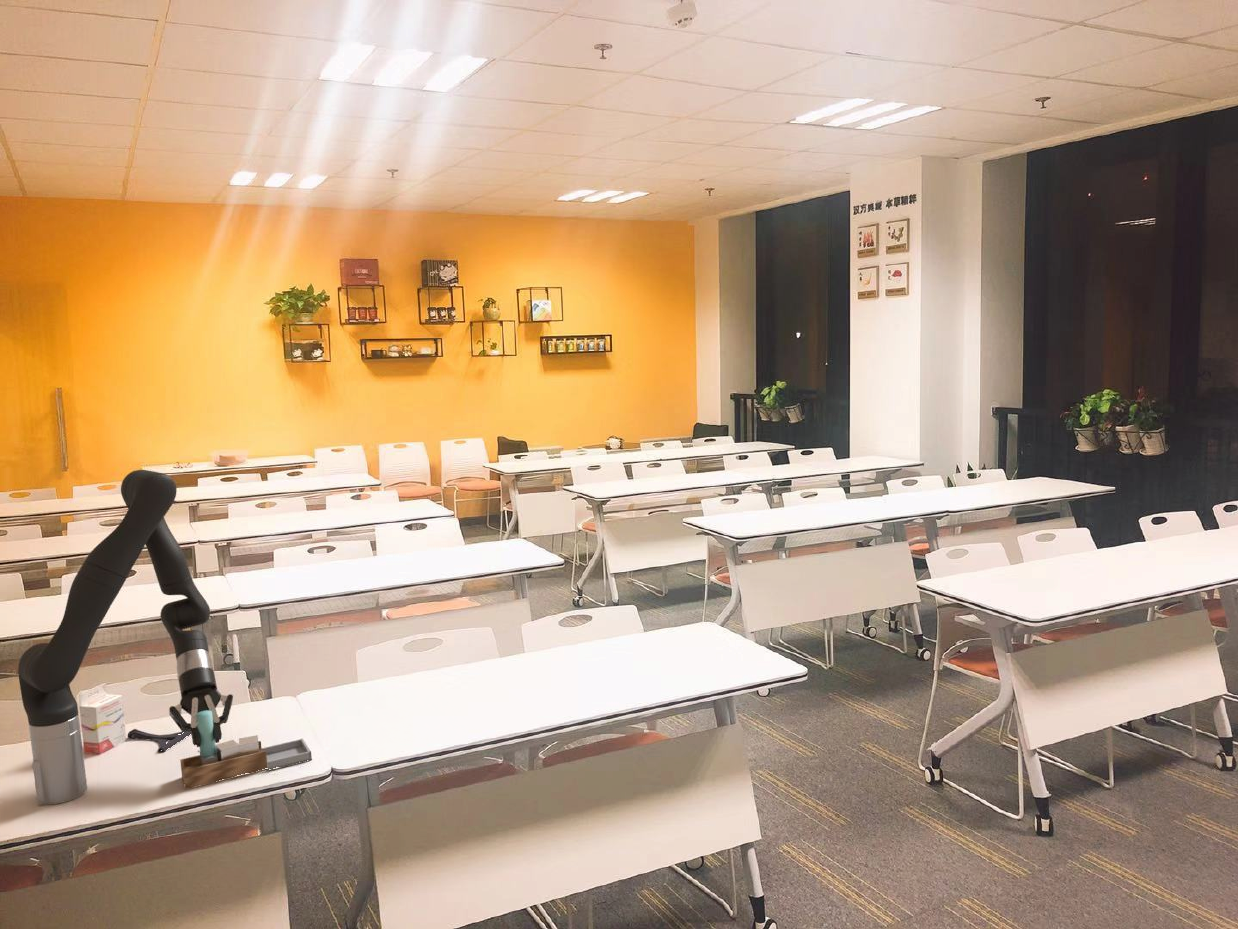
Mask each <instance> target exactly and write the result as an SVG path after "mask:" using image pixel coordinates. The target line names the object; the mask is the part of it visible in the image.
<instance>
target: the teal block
mask: <svg viewBox="0 0 1238 929" xmlns="http://www.w3.org/2000/svg"><path fill="white" fill-rule="evenodd" d="M196 717H197V726H198V730H199V736H200V742H201V747H199V755H200V760H201V765H202V766H203V765H207V764H211V763H215V762H218V759H217V755H216V746H215V745H216V743H215V737H214V727H213V716H212V711H210V710H206V711H201V712H199V713H197V714H196Z"/></svg>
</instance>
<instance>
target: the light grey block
mask: <svg viewBox="0 0 1238 929" xmlns="http://www.w3.org/2000/svg"><path fill="white" fill-rule="evenodd" d="M215 746H216V755H217V759H218V762H220V761H224V760H228V759H232V758H237V757H240V749H239V742H237V741H235V740H234V739H230V740H228V741H224V742H221V743H220V742H219V743H216V744H215Z"/></svg>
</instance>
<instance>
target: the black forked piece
mask: <svg viewBox="0 0 1238 929" xmlns="http://www.w3.org/2000/svg"><path fill="white" fill-rule="evenodd" d="M197 728H198V726H197ZM182 733H183V732H182V731H179V732H175V733H174V732H172V733H169V734H154V733H148V732H145V731H142V730H139V729H137V728H134V729H132V730H130V731H128V733H127V739H128V740H146V739H150V740H151V741H153V742H156V743H157V744H158V745H159V744H160V745H159V747H158V750H157V751H158V752H157V753H161V752H162V753H166V752H167V751H168V750H169V749H168V748H170V749H171V747H172V746H173V745H175V744H176V743H177V742H179V743H181V742H182V741H184V740H185V739H186V738H185V737H186V736H188V737H190V736H191V735H190V734H191V732H189V731H186V732H184V733H183V734H182ZM178 734H181V735H178ZM189 735H190V736H189ZM184 738H185V739H184ZM183 739H184V740H183ZM168 740H169V741H168ZM171 740H172V741H171ZM181 740H182V741H181ZM167 741H168V743H167V744H166V742H167ZM180 741H181V742H180ZM176 745H177V744H176ZM176 745H175V746H176ZM173 747H174V746H173ZM173 747H172V748H173ZM167 749H168V750H167ZM161 750H162V751H161ZM166 750H167V751H166Z"/></svg>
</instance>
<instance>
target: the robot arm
mask: <svg viewBox="0 0 1238 929" xmlns="http://www.w3.org/2000/svg"><path fill="white" fill-rule="evenodd" d="M177 491H178V490H177V484H176V482H175V480H174V478H173V477H171V476H170V475H168V474H166V473H162V472H159V471H154V470H147V469H137V470H133V471H130V472H129V473H128V474H127V475H126V476H125V477H124V478H123V479H122V482H121V486H120V493H121V494H120V495H121V497H122V499H123V502H124V504H125V505H126V507H127V511H126V513H125V515H124V517H123V518H122V520H121V522H120V523H119V524H118V526H116V528H114V530H112V531H111V533H109V534H108V535H107V536H106V537H105V538H104V539H103V540H101V541H100V542H99V543H98V544H97V545H96V546H95V547H94V548H93V549H92V550H91V551H90V552H89V554H88V555H87V557H86V558H85V559H84V562H83V563H82V565H81V566H80V568H79V569H78V571H77V574H75V577H74V578H73V581H72V584H71V585H70V588H69V592H68V596H67V600H66V605H65V610H64V613H63V617H62V619H61V622H60V624H59V626H58V627H57V629H56V631H55V632H54V634H53V636H52V638H51V639H50V641H49V642H40V643H37V644H35V645H32V646H31V647H29V648H28V649H26V650H25V651H24V653H23V654H22V655H21V657H20V659H19V662H18V666H17V668H18V669H17V673H18V680H19V681H18V682H19V688H20V694H21V700H22V704H23V709H24V711H25V713H26V716H27V720H28V729H29V738H30V745H31V753H32V769H33V778H34V785H35V794H36V801H37V806H42V805H55V804H57V805H58V804H61V803H66V802H69V801H73V800H75V799H77V798H79V797H81V796H82V795H83V794H85V793H86V792H87V791H88V783H87V782H88V781H87V780H88V779H87V774H86V767H85V765H86V764H85V757H84V747H83V739H82V730H81V722H80V717H79V715H80V714H79V707H78V701H76V698H75V697H74V695H73V692H72V690H71V687H70V684H71V683H72V681H73V680H74V679H75V678H76V676H77V674H78V672H79V671H80V667H81V665H82V663H83V660H84V659H85V656H86V654H87V652H88V648H89V646H90V644H91V643H92V640H93V638H94V636H95V634H96V633H97V631H98V629H99V627H100V626H101V623H102V622H103V620H104V619H105V617H106V615H107V614H108V611H109V610H110V608H111V606H112V605H113V602H114V601H115V600H116V598H117V596H118V595H119V592H120V591H121V589H122V588H123V586H124V584H125V583H126V581H127V580H126V579H128V576H129V575H130V572H131V571H132V569H133V567H134V566H135V563H136V562H137V560H138V559H139V557H140V555H141V553H142V551H143V549H144V547H146V549H147V552H148V555H149V557H150V560H151V563H152V566H153V569H154V572H155V576H156V579H157V582H158V585H159V588H160V590H161V593H163V595H165V596H184V597H185V598H182V599H179V600H175V601H172V602H171V601H170V602H168V603H166V604H164V605H163V606H162V608H161V610H160V613H159V614H160V615H159V616H160V621H161V622H162V625H163V626H164V628H165V630H166V631H167V633H168V634H169V636H170V639H171V641H172V644H173V648H174V653H175V658H176V660H175V661H176V671H177V679H178V684H179V691H180V697H181V699H180V701H179V703H178V704H177V705H175V706H174V705H170V706H169V710H168V711H169V716H170V717H171V719H172V720H173V721H174V722H175V724H176V726H177V727H178V728H179V729H180V732H186V731H189V732H191V735H190V736H191V741H192V745H193V746H196V748H200V747H201V742H200V736H199V730H198V728H197V717H196V714H197V713H199V712H201V711H206V710H210V711H212V716H213V727H214V737H215V744H220V740H221V739H222V735H223V734H222V728H221V725H222V724H226V723H227V722H228V720H229V716H230V712H231V708H232V705H233V700H234V695H233V694H227V695H225V694H224V695H222V694H221V692H220V691H219V690H218V685H217V681H216V675H215V670H214V665H213V660H212V658H211V654H210V650H209V646H208V645H209V644H208V640H207V636H206V634H205V633H204V632H203V631H201V630H197V629H196V630H195V629H193V630H192V629H191V630H190V628H193V627H197V626H201V625H204V624H205V623H207V622H208V621H209V619H210V617H211V616H210V615H211V609H210V606H209V604H208V602H207V600H206V599H205V598H204V596H203V594H202V593H201V592H200V591H199V589H198V588H197V586H196V583H195V582H194V580H193V578H192V575H191V571H190V568H189V564H188V562H187V559H186V555H185V553H184V551H183V549H182V548H181V546H180V544H179V542H178V541H177V539H176V538H175V536H174V534H173V533H172V531H171V529H170V527H169V526H168V524H167V522H166V519H165V516H166V515H167V513H168V512H169V510H170V508H171V507H172V506H173V504H174V502H175V500H176V497H177ZM186 629H189V630H186ZM220 701H221V703H222V706H224V707H223V710H222V714H221V715H220V716H219V715H218V712H217V709H216V708H217V707H218V706H219V703H220ZM182 710H183V711H185V712H186V713H187V714H189V715H190V716H191V717H190V723H189V722H187V721H186V720H185V719H184V717H183V715H182Z"/></svg>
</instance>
